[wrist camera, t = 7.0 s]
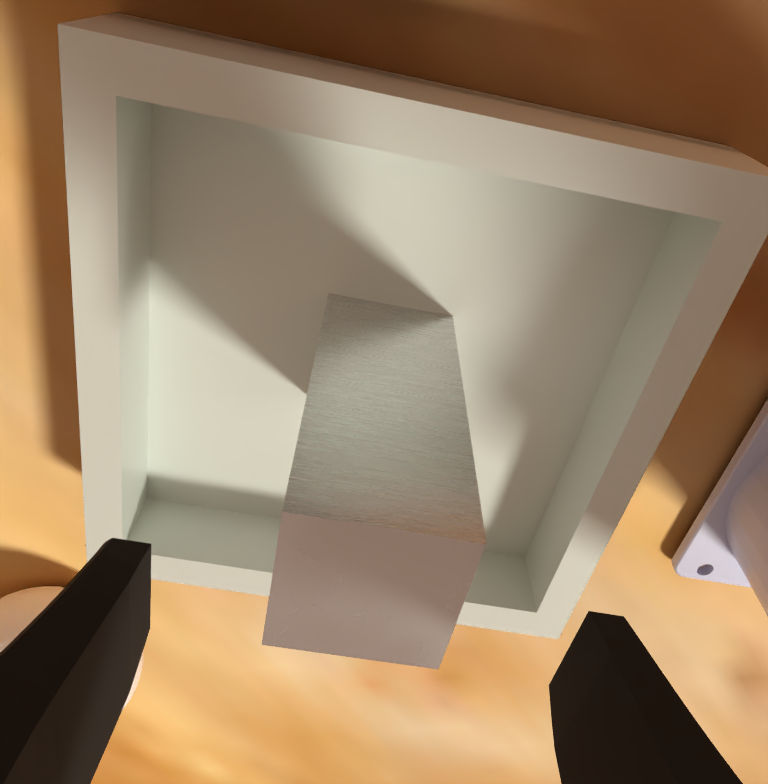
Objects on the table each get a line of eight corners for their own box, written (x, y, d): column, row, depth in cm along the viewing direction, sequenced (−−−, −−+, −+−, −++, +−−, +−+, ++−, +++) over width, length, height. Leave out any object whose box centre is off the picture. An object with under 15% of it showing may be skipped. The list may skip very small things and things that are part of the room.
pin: (452, 316, 17) (486, 543, 11) (424, 417, 19) (438, 669, 12) (328, 293, 17) (281, 511, 10) (311, 398, 19) (262, 644, 12)
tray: (731, 146, 16) (794, 182, 13) (541, 564, 23) (558, 639, 21) (116, 12, 15) (57, 23, 12) (123, 499, 22) (87, 569, 19)
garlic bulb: (-33, 562, 24) (-198, 793, 17) (144, 576, 24) (47, 810, 17) (3, 671, 27) (-124, 900, 21) (159, 683, 27) (81, 914, 21)
